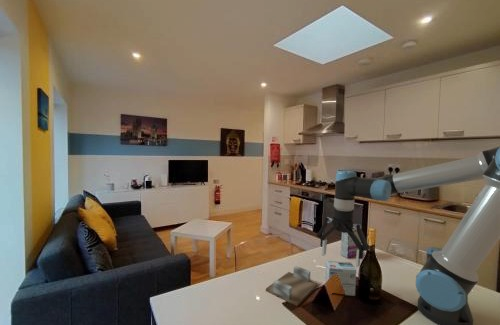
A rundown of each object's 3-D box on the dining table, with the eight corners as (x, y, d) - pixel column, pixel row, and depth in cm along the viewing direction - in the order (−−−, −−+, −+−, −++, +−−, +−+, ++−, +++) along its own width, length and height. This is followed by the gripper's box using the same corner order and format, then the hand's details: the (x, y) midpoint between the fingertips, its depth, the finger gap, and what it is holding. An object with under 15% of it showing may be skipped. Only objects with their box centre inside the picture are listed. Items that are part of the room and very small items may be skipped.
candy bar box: (353, 251, 136) (354, 223, 135) (361, 255, 131) (362, 226, 131) (339, 255, 130) (341, 225, 130) (347, 258, 126) (349, 228, 125)
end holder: (317, 285, 99) (318, 274, 99) (297, 306, 85) (297, 292, 85) (288, 273, 108) (289, 263, 108) (265, 290, 94) (266, 278, 94)
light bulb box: (350, 286, 99) (351, 261, 99) (355, 296, 93) (357, 269, 92) (324, 284, 100) (325, 259, 100) (327, 294, 94) (329, 267, 93)
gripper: (380, 213, 90) (375, 267, 91) (317, 202, 106) (315, 248, 107) (375, 217, 84) (371, 275, 85) (310, 204, 100) (307, 253, 101)
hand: (340, 260), depth 96 cm, fingers open, 13 cm apart
